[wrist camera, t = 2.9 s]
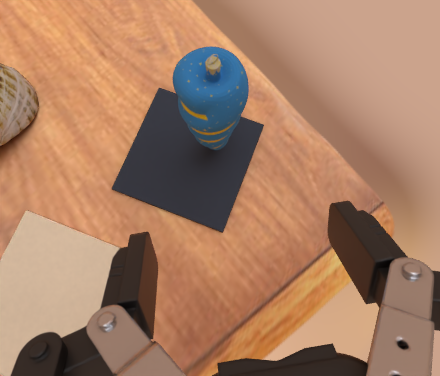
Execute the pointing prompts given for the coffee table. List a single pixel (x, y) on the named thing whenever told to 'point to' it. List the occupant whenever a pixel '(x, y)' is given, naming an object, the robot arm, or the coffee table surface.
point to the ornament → (211, 94)
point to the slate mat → (186, 165)
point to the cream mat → (48, 283)
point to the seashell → (15, 103)
